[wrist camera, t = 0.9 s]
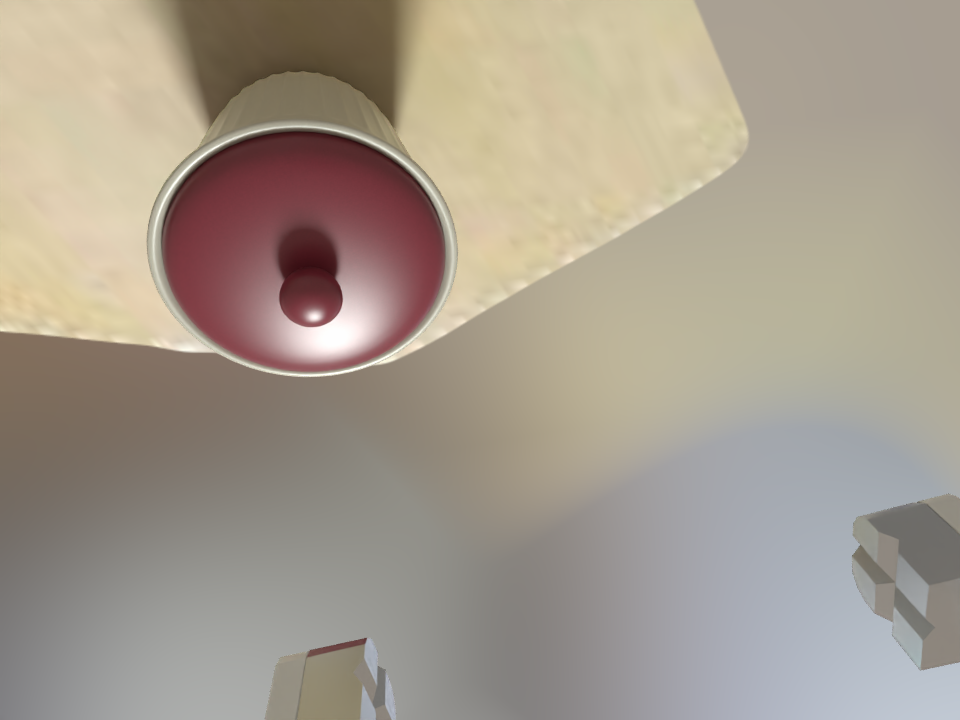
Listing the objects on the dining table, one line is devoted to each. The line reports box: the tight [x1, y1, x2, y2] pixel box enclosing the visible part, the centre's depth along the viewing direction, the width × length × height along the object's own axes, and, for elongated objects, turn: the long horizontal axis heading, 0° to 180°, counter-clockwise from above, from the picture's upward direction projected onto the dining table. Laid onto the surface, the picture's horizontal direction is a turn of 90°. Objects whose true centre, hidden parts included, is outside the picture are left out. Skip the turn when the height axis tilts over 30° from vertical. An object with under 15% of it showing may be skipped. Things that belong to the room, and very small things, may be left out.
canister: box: [147, 71, 458, 377], centre depth 46 cm, size 18×18×21 cm
